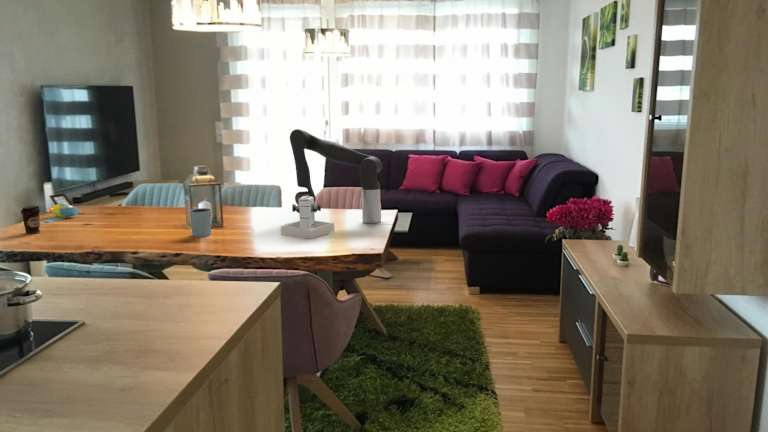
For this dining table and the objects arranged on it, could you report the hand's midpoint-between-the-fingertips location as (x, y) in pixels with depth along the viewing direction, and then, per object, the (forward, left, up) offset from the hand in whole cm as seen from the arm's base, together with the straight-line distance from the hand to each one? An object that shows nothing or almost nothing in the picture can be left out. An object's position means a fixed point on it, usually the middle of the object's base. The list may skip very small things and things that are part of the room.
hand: (306, 210), depth 305 cm
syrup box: (-2, -1, -9) cm, 9 cm away
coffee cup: (+64, -119, -11) cm, 136 cm away
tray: (-2, -1, -11) cm, 11 cm away
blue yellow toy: (+34, -143, -12) cm, 147 cm away
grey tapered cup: (+26, -43, -11) cm, 52 cm away
